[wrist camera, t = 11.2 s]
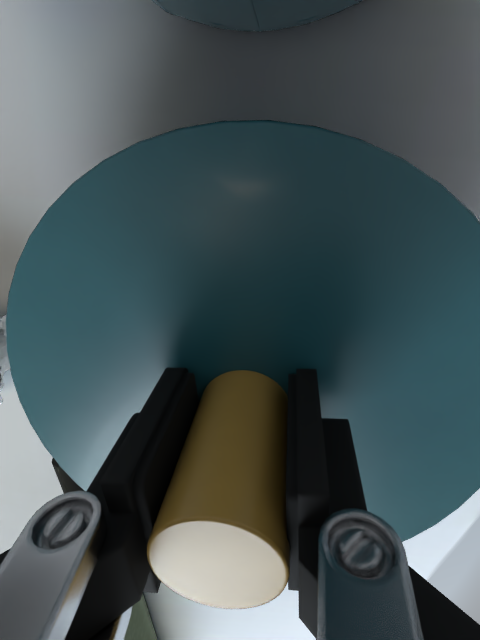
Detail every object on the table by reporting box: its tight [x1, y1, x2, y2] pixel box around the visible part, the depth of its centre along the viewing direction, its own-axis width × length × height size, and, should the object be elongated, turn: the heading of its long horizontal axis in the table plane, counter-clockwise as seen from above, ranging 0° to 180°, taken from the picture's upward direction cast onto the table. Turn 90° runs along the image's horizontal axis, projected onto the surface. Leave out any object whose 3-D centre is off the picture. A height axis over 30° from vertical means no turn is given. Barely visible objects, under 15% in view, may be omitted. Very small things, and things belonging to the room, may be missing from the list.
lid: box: [6, 120, 480, 609], centre depth 9 cm, size 15×15×6 cm
